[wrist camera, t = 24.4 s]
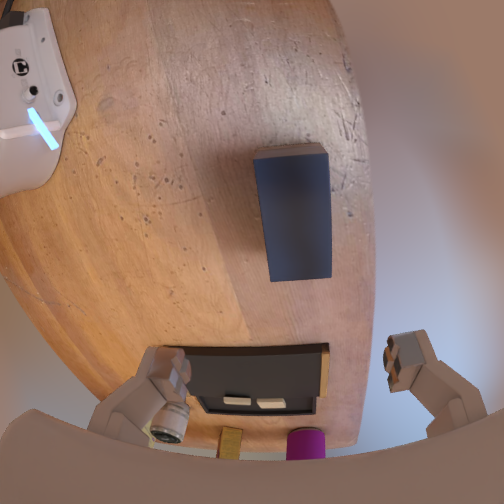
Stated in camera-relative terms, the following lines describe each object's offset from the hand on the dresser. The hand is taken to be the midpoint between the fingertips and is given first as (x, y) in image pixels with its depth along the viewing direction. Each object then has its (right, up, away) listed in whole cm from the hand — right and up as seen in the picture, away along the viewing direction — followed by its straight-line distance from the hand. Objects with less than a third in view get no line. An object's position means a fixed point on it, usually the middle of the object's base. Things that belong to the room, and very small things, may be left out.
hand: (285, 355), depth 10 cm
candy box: (-6, -35, +41) cm, 54 cm away
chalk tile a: (-3, -19, +29) cm, 35 cm away
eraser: (+2, +8, +14) cm, 16 cm away
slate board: (-2, -13, +27) cm, 30 cm away
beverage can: (+10, -33, +38) cm, 51 cm away
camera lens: (-16, -25, +36) cm, 46 cm away
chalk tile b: (+2, -19, +30) cm, 35 cm away
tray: (0, -21, +32) cm, 38 cm away
